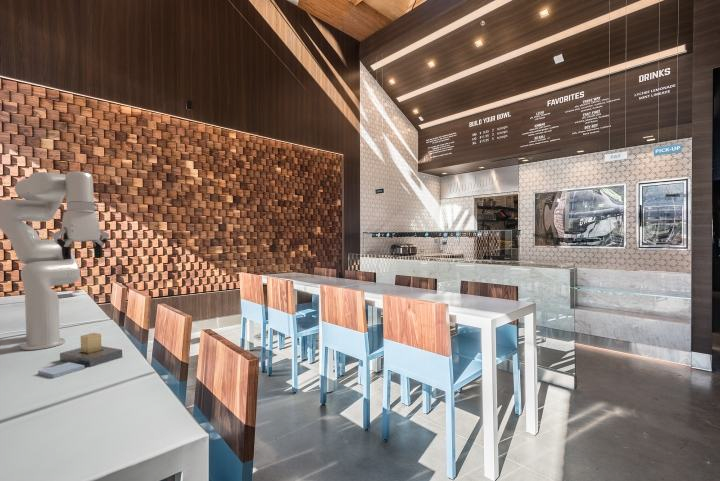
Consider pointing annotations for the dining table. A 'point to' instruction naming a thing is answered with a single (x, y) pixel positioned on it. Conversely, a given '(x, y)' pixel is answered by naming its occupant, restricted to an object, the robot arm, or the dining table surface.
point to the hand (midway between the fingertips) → (83, 258)
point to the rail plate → (91, 356)
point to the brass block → (90, 343)
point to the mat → (61, 369)
